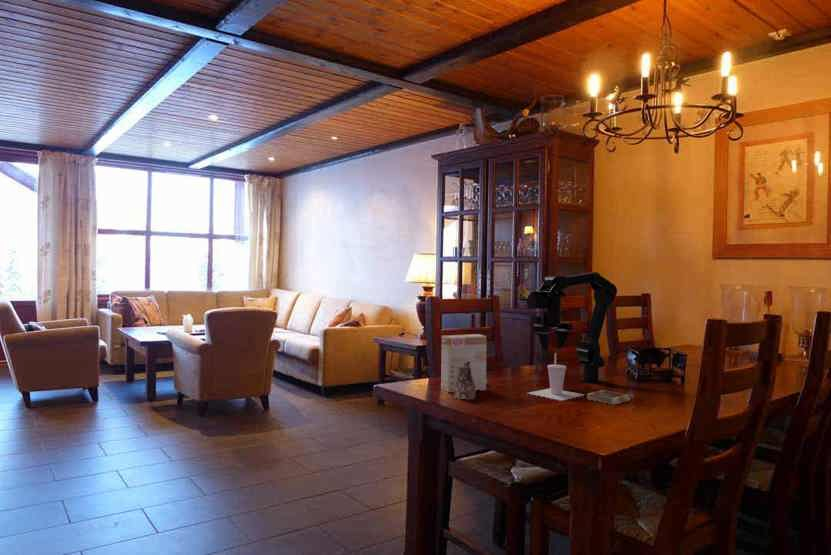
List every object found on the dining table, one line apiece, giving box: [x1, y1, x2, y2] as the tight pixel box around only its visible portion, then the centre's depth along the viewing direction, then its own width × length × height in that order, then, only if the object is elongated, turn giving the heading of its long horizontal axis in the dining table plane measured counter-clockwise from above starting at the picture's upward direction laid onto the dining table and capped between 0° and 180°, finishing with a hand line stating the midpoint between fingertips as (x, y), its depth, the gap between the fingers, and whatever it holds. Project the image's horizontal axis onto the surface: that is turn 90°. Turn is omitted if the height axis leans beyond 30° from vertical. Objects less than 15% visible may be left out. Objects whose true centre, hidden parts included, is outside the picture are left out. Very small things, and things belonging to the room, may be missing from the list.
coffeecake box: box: [440, 333, 487, 393], centre depth 211 cm, size 15×7×20 cm, turn 110°
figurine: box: [453, 361, 476, 401], centre depth 199 cm, size 7×7×12 cm
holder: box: [586, 389, 631, 406], centre depth 198 cm, size 10×10×2 cm
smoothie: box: [547, 352, 567, 395], centre depth 205 cm, size 6×6×14 cm
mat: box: [526, 387, 586, 402], centre depth 205 cm, size 14×14×1 cm
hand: (552, 350), depth 224 cm, fingers open, 9 cm apart
